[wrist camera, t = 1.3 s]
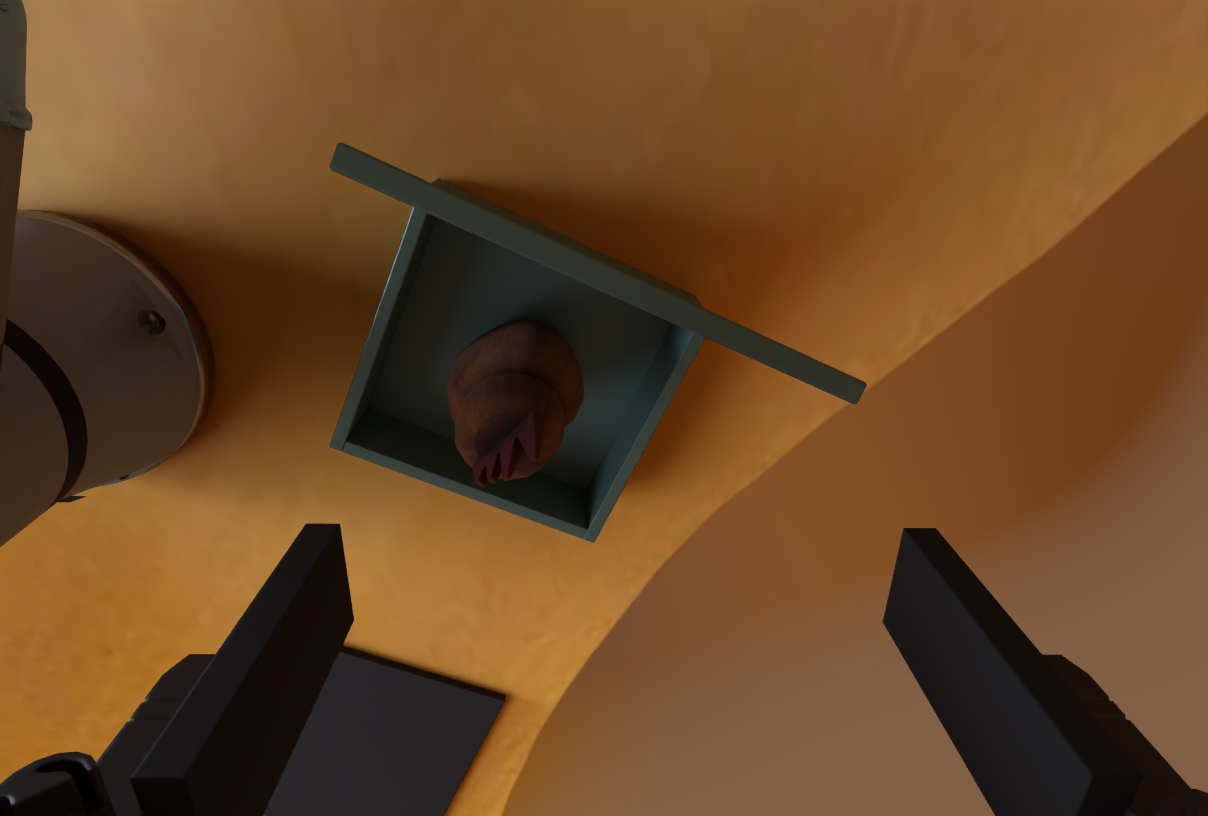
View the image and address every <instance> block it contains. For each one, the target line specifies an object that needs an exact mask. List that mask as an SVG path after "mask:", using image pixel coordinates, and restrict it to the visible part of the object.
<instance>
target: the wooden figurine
mask: <svg viewBox="0 0 1208 816" xmlns="http://www.w3.org/2000/svg"><path fill="white" fill-rule="evenodd" d="M447 389H448V400H449V410H450V415H451V417H452V419H453V420H454V422H455V444H456V447H457V449H458V450H459V452H460V454H461V455H462V457H463V458H464V460H465V462H466V463H467V464H468V465H470V466H471V467H472V468H473V471H474V479H475V482H476V483H477V484H478V485H479V486H481V487H484V486H485V484H486V483H487V482H488V481H490V482H491V483H492V484H494V483H495V482H496V481H497V480H498V479H504V480H505V481H508V480H509V479H517V478H523V477H528V476H530V475H532V474H533V473H535V472H537V471H538V470H540V469H541V468H542V467H543V466H544V465H545V464H546V463H547V462H548V461H549V460H550V459H551V458H552V457H553V456H554V455H555V454H556V452H557V450H558V448H559V446H560V444H561V442H562V440H563V437H564V427H565V426H567V425H568V424H569V423H571V422H572V421H573V420H574V419H575V417H576V415H577V413H578V411H579V409H580V406H581V404H582V402H583V399H584V386H583V379H582V372H581V368H580V365H579V362H578V360H577V358H576V355H575V353H574V351H573V349H572V347H571V345H570V343H569V342H568V341H567V340H566V339H565V338H564V336H563V335H562V334H561V333H560V332H559V331H558V330H557V329H556V327H554V326H551V325H549V324H546V323H544V322H541V321H539V320H537V319H526V320H515V321H511V322H508V323H505V324H501V325H499V326H497V327H495V328H493V329H491V330H489V331H487V332H485V333H483V334H481V335H480V336H479V337H477V338H476V339H475V340H474V341H473V342H472V343H470V344H469V345H468V346H467V347H466V348H464V349H463V350H462V351H461V352H460V353H459V355H458V357H457V359H456V362H455V365H454V367H453V370H452V373H451V376H450V379H449V383H448V386H447Z"/></svg>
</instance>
